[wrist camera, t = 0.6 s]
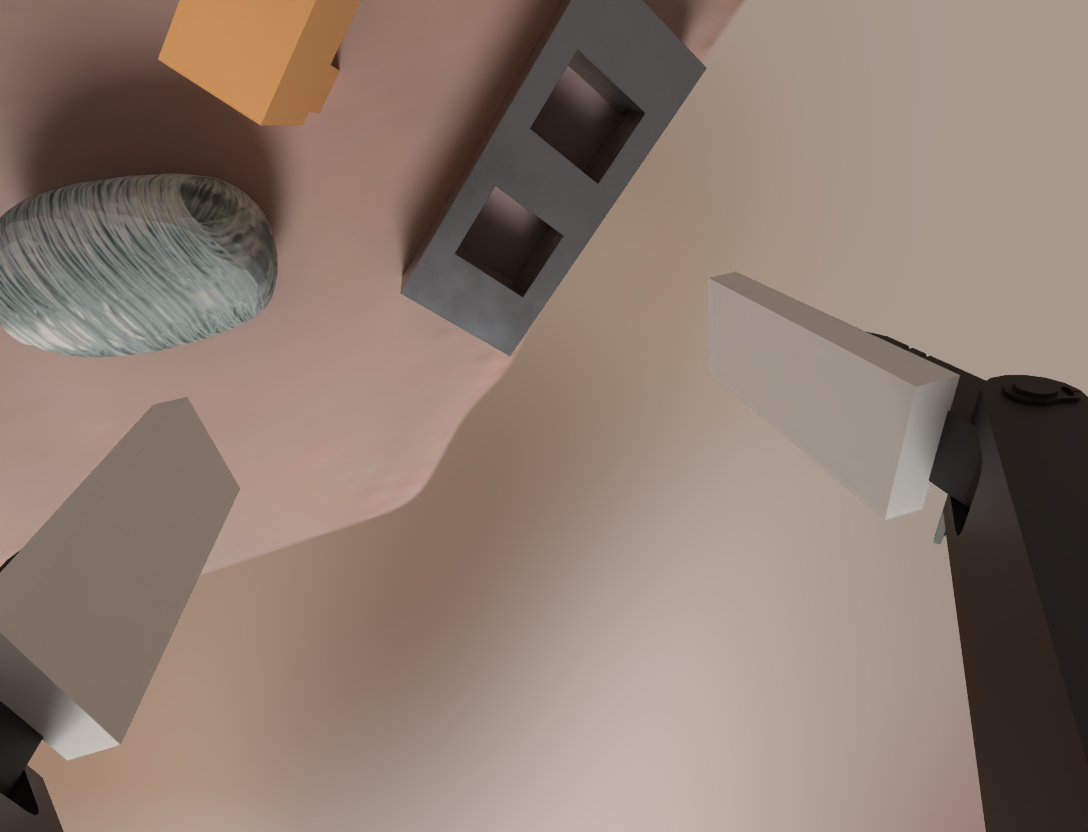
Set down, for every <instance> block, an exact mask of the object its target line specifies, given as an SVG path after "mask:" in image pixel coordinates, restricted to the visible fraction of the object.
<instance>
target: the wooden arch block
mask: <svg viewBox="0 0 1088 832" xmlns="http://www.w3.org/2000/svg"><path fill="white" fill-rule="evenodd" d="M360 1H361V0H180V1H179V3H178V6H177V9H176V12H175V14H174V17H173V20H172V22H171V25H170V28H169V31H168V33H167V36H166V39H165V41H164V44H163V47H162V50H161V52H160V55H159V58H158V60H160V61H161V62H163V63H164V64H166V65H167V66H169V67H171V68H172V69H174V70H175V71H177V72H178V73H180V74H181V75H183V76H184V77H186V78H188V79H189V80H191V81H192V82H194V83H195V84H197V85H198V86H200V87H202V88H203V89H205V90H206V91H208V92H209V93H211V94H212V95H214V96H216V97H217V98H219V99H220V100H222V101H223V102H225V103H226V104H228V105H229V106H231V107H233V108H234V109H236V110H237V111H239V112H240V113H242V114H243V115H245V116H247V117H248V118H250V119H251V120H253V121H254V122H256V123H257V124H259V125H261V126H279V125H303V123H304V121H305V119H306V116H307V114H308V112H314V113H320V111H321V109H322V107H323V105H324V102H325V100H326V98H327V96H328V94H329V92H330V90H331V88H332V86H333V83H334V81H335V79H336V77H337V75H338V73H339V70H337V69H336V68H335V67H333V66H332V65H331V63H332V61H333V59H334V57H335V54H336V52H337V50H338V48H339V46H340V44H341V42H342V39H343V37H344V35H345V33H346V31H347V29H348V27H349V24H350V22H351V20H352V18H353V16H354V14H355V12H356V9H357V7H358V5H359V3H360Z"/></svg>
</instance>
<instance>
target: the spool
mask: <svg viewBox="0 0 1088 832" xmlns="http://www.w3.org/2000/svg"><path fill="white" fill-rule="evenodd" d="M276 278H277V252H276V247H275V242H274V237H273V232H272V229H271V227H270V225H269V222H268V220H267V218H266V216H265V214H264V213H263V212H262V210H261V209H260V208H259V206H258V205H257V204H256V203H255V202H254V201H253V200H252V199H251V198H250V197H249V196H248V195H247V194H246V193H245V192H243V191H242V190H240V189H239V188H237V187H236V186H234V185H232V184H229V183H227V182H225V181H223V180H221V179H218V178H215V177H207V176H198V175H189V174H177V173H168V174H154V175H133V176H124V177H116V178H110V179H103V180H96V181H88V182H80V183H76V184H72V185H68V186H65V187H61V188H58V189H53V190H49V191H46V192H44V193H41V194H38V195H35V196H33V197H30V198H27V199H25V200H23V201H21V202H20V203H18V204H17V205H15V206H14V207H13V208H11V209H10V210H8V211H7V212H6V213H5V214H4V215H3V216H2V217H1V218H0V325H1V326H2V327H3V329H4V330H5V331H6V332H7V333H8V334H10V335H11V336H12V337H13V338H15V339H16V340H18V341H20V342H21V343H23V344H27V345H32V346H34V347H36V348H38V349H39V350H45V351H50V352H54V353H59V354H66V355H73V356H80V357H111V356H127V355H134V354H141V353H148V352H154V351H160V350H165V349H169V348H173V347H177V346H181V345H185V344H189V343H192V342H196V341H199V340H202V339H205V338H208V337H211V336H214V335H217V334H219V333H222V332H225V331H228V330H230V329H232V328H235V327H237V326H239V325H242V324H245V323H247V322H249V321H250V320H252V319H253V318H254V317H256V316H257V315H258V314H259V313H260V312H261V311H262V310H263V309H264V308H265V307H266V306H267V304H268V303H269V301H270V300H271V297H272V294H273V292H274V288H275V283H276Z"/></svg>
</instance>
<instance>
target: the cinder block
mask: <svg viewBox="0 0 1088 832" xmlns="http://www.w3.org/2000/svg"><path fill="white" fill-rule="evenodd" d="M568 65H569V66H570V67H571V68H572V69H573V70H574V71H575V72H576V73H577V74H579V75H580V76H581V77H582V78H583V79H584V80H585V81H586V82H587V83H588V84H589V85H591V86H592V87H593V88H594V89H595V90H596V91H597V92H598V93H599V94H600V95H601V96H603V97H604V98H605V99H606V100H607V101H608V102H609V103H610V104H611V105H612V106H613V107H615V108H616V109H617V110H618V111H619V112H620V113H621V114H622V115H621V117H620V118H619V120H618V121H617V123H616V124H615V126H614V127H613V129H612V130H611V132H610V134H609V135H608V137H607V138H606V140H605V141H604V143H603V144H602V146H601V147H600V149H599V150H598V152H597V153H596V155H595V157H594V158H593V160H592V161H591V163H590V164H589V166H588V167H587V169H586V170H585V172H582V171H581V170H580V169H579V168H577V167H576V166H575V165H574V164H573V163H571V162H570V161H569V160H568V159H566V158H565V157H564V156H563V155H562V154H560V153H559V152H558V151H557V150H555V149H554V148H553V147H552V146H551V145H549V144H548V143H547V142H546V141H544V140H543V139H542V138H541V137H539V136H538V135H537V134H536V133H535V132H533V131H532V130H531V129H530V127H531V126H532V124H533V122H534V121H535V119H536V118H537V116H538V114H539V113H540V111H541V109H542V108H543V106H544V104H545V103H546V101H547V99H548V98H549V96H550V94H551V93H552V91H553V89H554V88H555V86H556V84H557V83H558V81H559V79H560V78H561V76H562V74H563V73H564V71H565V69H566V68H567V66H568ZM705 70H706V67H705V66H704V65H703V64H702V63H701V62H700V61H699V59H698V58H697V57H696V56H695V55H694V54H693V53H692V52H691V51H690V50H689V49H688V48H687V47H686V46H685V45H684V43H683V42H682V41H681V40H680V39H679V38H678V37H677V36H676V35H675V34H674V33H673V32H672V31H671V30H670V29H669V27H668V26H667V25H666V24H665V23H664V22H663V21H662V20H661V19H660V18H659V17H658V16H657V15H656V14H655V13H654V12H653V10H652V9H651V8H650V7H649V6H648V5H647V4H646V3H645V2H644V1H643V0H562V1H561V3H560V4H559V6H558V8H557V10H556V11H555V13H554V15H553V17H552V18H551V20H550V22H549V24H548V25H547V27H546V29H545V30H544V32H543V34H542V36H541V37H540V39H539V41H538V43H537V44H536V46H535V48H534V50H533V51H532V53H531V55H530V56H529V58H528V60H527V62H526V63H525V65H524V67H523V69H522V70H521V72H520V74H519V75H518V77H517V79H516V81H515V82H514V84H513V86H512V88H511V89H510V91H509V93H508V95H507V96H506V98H505V100H504V101H503V103H502V105H501V107H500V108H499V110H498V112H497V114H496V115H495V117H494V119H493V120H492V122H491V124H490V126H489V127H488V129H487V131H486V133H485V134H484V136H483V138H482V140H481V141H480V143H479V145H478V146H477V148H476V150H475V152H474V153H473V155H472V157H471V159H470V160H469V162H468V164H467V165H466V167H465V169H464V171H463V172H462V174H461V176H460V178H459V179H458V181H457V183H456V185H455V186H454V188H453V190H452V191H451V193H450V195H449V197H448V198H447V200H446V202H445V204H444V205H443V207H442V209H441V210H440V212H439V214H438V216H437V217H436V219H435V221H434V223H433V224H432V226H431V228H430V230H429V231H428V233H427V235H426V236H425V238H424V240H423V242H422V243H421V245H420V247H419V249H418V250H417V252H416V254H415V256H414V257H413V259H412V261H411V262H410V264H409V266H408V268H407V269H406V271H405V273H404V275H403V276H402V284H401V294H403V295H404V296H406V297H408V298H410V299H411V300H413V301H415V302H417V303H418V304H420V305H422V306H424V307H425V308H427V309H429V310H431V311H432V312H434V313H436V314H438V315H439V316H441V317H443V318H444V319H446V320H448V321H450V322H451V323H453V324H455V325H457V326H458V327H460V328H462V329H464V330H465V331H467V332H469V333H471V334H472V335H474V336H476V337H477V338H479V339H481V340H483V341H484V342H486V343H488V344H490V345H491V346H493V347H495V348H497V349H498V350H500V351H502V352H504V353H505V354H507V355H509V356H511V354H512V353H513V351H514V350H515V348H516V347H517V345H518V344H519V342H520V341H521V340H522V338H523V337H524V335H525V334H526V332H527V331H528V329H529V328H530V326H531V325H532V323H533V322H534V320H535V319H536V318H537V316H538V315H539V313H540V312H541V310H542V309H543V307H544V306H545V304H546V303H547V301H548V300H549V298H550V297H551V296H552V294H553V293H554V291H555V290H556V288H557V287H558V285H559V284H560V282H561V281H562V279H563V278H564V276H565V275H566V274H567V272H568V271H569V269H570V268H571V266H572V265H573V263H574V262H575V260H576V259H577V257H578V256H579V254H580V253H581V252H582V250H583V249H584V247H585V246H586V244H587V243H588V241H589V240H590V238H591V237H592V235H593V234H594V233H595V231H596V230H597V228H598V227H599V225H600V224H601V222H602V221H603V219H604V218H605V216H606V215H607V213H608V212H609V211H610V209H611V208H612V206H613V205H614V203H615V202H616V200H617V199H618V197H619V196H620V194H621V193H622V191H623V190H624V188H625V187H626V186H627V184H628V183H629V181H630V180H631V178H632V177H633V175H634V174H635V172H636V171H637V169H638V168H639V167H640V165H641V164H642V162H643V161H644V159H645V158H646V156H647V155H648V153H649V152H650V150H651V149H652V147H653V146H654V144H655V143H656V142H657V140H658V139H659V137H660V136H661V134H662V133H663V131H664V130H665V128H666V127H667V126H668V124H669V122H670V121H671V120H672V118H673V117H674V115H675V114H676V112H677V111H678V109H679V108H680V106H681V105H682V104H683V102H684V101H685V99H686V98H687V96H688V95H689V93H690V92H691V90H692V89H693V87H694V86H695V84H696V83H697V82H698V80H699V78H700V77H701V76H702V74H703V73H704V71H705ZM495 186H497V187H498V188H499V189H501V190H502V191H503V192H505V193H506V194H507V195H509V196H510V197H512V198H513V199H514V200H516V201H517V202H518V203H520V204H521V205H522V206H524V207H525V208H527V209H528V210H529V211H531V212H532V213H533V214H535V215H536V216H538V217H539V218H540V219H542V220H543V221H544V222H546V223H547V224H548V225H550V226H549V227H548V229H547V230H546V232H545V233H544V235H543V236H542V238H541V239H540V241H539V243H538V244H537V246H536V247H535V249H534V250H533V252H532V253H531V255H530V256H529V258H528V259H527V261H526V262H525V264H524V266H523V267H522V269H521V270H520V272H519V273H518V275H517V276H516V278H515V279H514V281H511V280H510V279H508V278H507V277H505V276H504V275H502V274H501V273H499V272H498V271H496V270H495V269H493V268H492V267H490V266H488V265H487V264H485V263H484V262H482V261H481V260H479V259H478V258H476V257H475V256H473V255H472V254H470V253H468V252H467V251H465V250H464V249H462V248H461V247H459V245H460V244H461V242H462V240H463V239H464V237H465V235H466V234H467V232H468V230H469V229H470V227H471V225H472V224H473V222H474V220H475V219H476V217H477V215H478V214H479V212H480V210H481V209H482V207H483V205H484V204H485V202H486V201H487V199H488V197H489V196H490V194H491V192H492V191H493V189H494V187H495Z"/></svg>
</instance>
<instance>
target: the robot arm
mask: <svg viewBox="0 0 1088 832" xmlns="http://www.w3.org/2000/svg"><path fill="white" fill-rule="evenodd" d="M708 304H709V307H708V320H709V321H708V372H709V373H710V374H711V375H713V376H714V377H715V378H716V379H717V380H719V381H720V382H721V383H722V384H723V385H724V386H726V387H727V388H728V389H729V390H730V391H732V392H733V393H734V394H735V395H736V396H738V397H739V398H740V399H741V400H742V401H744V402H745V403H746V404H747V405H748V406H749V407H751V408H752V409H753V410H754V411H756V412H757V413H758V414H759V415H760V416H761V417H763V418H764V419H765V420H766V421H767V422H769V423H770V424H771V425H772V426H773V427H775V428H776V429H777V430H778V431H779V432H780V433H782V434H783V435H784V436H785V437H786V438H788V439H789V440H790V441H791V442H793V444H795V445H796V446H797V447H798V448H800V449H801V450H802V451H803V452H804V453H805V454H807V455H808V456H809V457H810V458H811V459H813V460H814V461H815V462H816V463H817V464H819V465H820V466H821V467H822V468H824V469H825V470H826V471H827V472H828V473H829V474H830V475H832V476H833V477H834V478H835V479H836V480H838V481H839V482H840V483H841V484H842V485H844V486H845V487H846V488H847V489H848V490H850V491H851V492H852V493H853V494H854V495H855V496H857V497H858V498H859V499H860V500H861V501H862V502H864V503H865V504H866V505H867V506H868V507H870V508H871V509H872V510H873V511H874V512H876V513H877V514H878V515H879V516H881V517H882V518H883V519H884V520H887V519H891V518H894V517H897V516H900V515H904V514H908V513H911V512H914V511H918V510H921V509H923V505H924V501H925V498H926V494H927V491H928V487H929V484H930V482H932V483H933V484H934V485H936V486H937V487H939V488H940V489H942V490H943V491H945V492H946V493H947V494H948V496H947V499H946V502H945V505H944V509H943V512H942V515H941V518H940V522H939V525H938V528H937V531H936V534H935V538H934V543H937V544H941V542H942V539H943V536H945V535H946V537H947V544H948V552H949V559H950V566H951V574H952V582H953V589H954V597H955V604H956V611H957V619H958V626H959V634H960V641H961V648H962V656H963V664H964V671H965V679H966V686H967V694H968V701H969V708H970V716H971V723H972V730H973V738H974V746H975V753H976V760H977V768H978V775H979V783H980V791H981V798H982V805H983V813H984V820H985V828H986V832H1088V397H1087V396H1086V395H1085V394H1084V393H1083V392H1082V391H1080V390H1079V389H1076V388H1074V387H1072V386H1070V385H1068V384H1066V383H1063V382H1059V381H1055V380H1052V379H1048V378H1042V377H1035V376H1028V375H1004V376H999V377H994V378H990V379H989V380H987V381H985V380H983V379H981V378H979V377H976V376H974V375H972V374H970V373H967V372H965V371H963V370H961V369H959V368H956V367H954V366H952V365H950V364H948V363H945V362H943V361H941V360H938V359H936V358H934V357H932V356H928V357H927V356H926V354H925V353H923V352H921V351H918V350H916V349H914V348H911V349H909V346H907V345H905V344H903V343H901V342H899V341H896V340H894V339H892V338H890V337H888V336H883V335H879V334H874V333H870V332H865V331H863V330H861V329H859V328H857V327H854V326H852V325H850V324H848V323H846V322H844V321H841V320H839V319H837V318H835V317H833V316H830V315H828V314H826V313H824V312H822V311H820V310H817V309H815V308H813V307H811V306H809V305H807V304H805V303H802V302H800V301H798V300H796V299H794V298H791V297H789V296H787V295H785V294H783V293H781V292H778V291H776V290H774V289H772V288H769V287H767V286H765V285H763V284H761V283H759V282H757V281H755V280H752V279H750V278H748V277H746V276H744V275H742V274H739V273H737V272H733V273H728V274H724V275H719V276H715V277H711V278H709V303H708ZM239 490H240V488H239V486H238V484H237V482H236V481H235V479H234V477H233V475H232V474H231V472H230V470H229V469H228V467H227V465H226V463H225V462H224V460H223V458H222V456H221V455H220V453H219V451H218V449H217V448H216V446H215V444H214V443H213V441H212V439H211V437H210V436H209V434H208V432H207V430H206V429H205V427H204V425H203V424H202V422H201V420H200V418H199V417H198V415H197V413H196V411H195V410H194V408H193V406H192V404H191V403H190V401H189V399H188V398H187V397H186V398H181V399H177V400H172V401H168V402H164V403H159V404H155V405H153V406H152V407H151V408H150V409H149V410H148V411H147V412H146V413H145V414H144V415H143V417H142V418H141V419H140V420H139V421H138V422H137V423H136V424H135V425H134V426H133V427H132V429H131V430H130V431H129V432H128V433H127V434H126V435H125V436H124V437H123V438H122V440H121V441H120V442H119V443H118V444H117V445H116V446H115V447H114V448H113V449H112V451H111V452H110V453H109V454H108V455H107V456H106V457H105V458H104V459H103V460H102V462H101V463H100V464H99V465H98V466H97V467H96V468H95V469H94V470H93V471H92V472H91V474H90V475H89V476H88V477H87V478H86V479H85V480H84V481H83V482H82V483H81V485H80V486H79V487H78V488H77V489H76V490H75V491H74V492H73V493H72V494H71V496H70V497H69V498H68V499H67V500H66V501H65V502H64V503H63V504H62V505H61V507H60V508H59V509H58V510H57V511H56V512H55V513H54V514H53V515H52V516H51V518H50V519H49V520H48V521H47V522H46V523H45V524H44V525H43V526H42V527H41V528H40V530H39V531H38V532H37V533H36V534H35V535H34V536H33V537H32V538H31V539H30V541H29V542H28V543H27V544H26V545H25V546H24V547H23V548H22V549H21V550H20V551H18V552H17V553H16V554H14V555H13V556H12V557H11V558H9V559H8V560H7V561H6V562H5V563H4V564H3V565H2V566H1V567H0V832H63V829H62V826H61V824H60V821H59V819H58V816H57V814H56V811H55V809H54V806H53V804H52V801H51V798H50V796H49V793H48V791H47V788H46V786H45V783H44V780H43V778H42V777H41V776H40V775H38V774H37V773H36V772H35V771H34V770H33V769H31V768H30V767H29V766H27V764H28V762H29V760H30V759H31V757H32V755H33V754H34V752H35V750H36V748H37V747H38V745H39V743H40V742H41V740H44V741H45V742H46V743H47V744H48V745H50V746H51V747H52V748H53V749H55V750H56V751H57V752H58V753H59V754H60V755H62V756H63V757H64V758H65V759H66V760H70V759H74V758H77V757H81V756H84V755H87V754H91V753H94V752H98V751H101V750H105V749H108V748H111V747H115V746H118V745H121V743H122V740H123V738H124V736H125V734H126V732H127V730H128V727H129V726H130V723H131V721H132V719H133V717H134V714H135V713H136V710H137V708H138V706H139V704H140V702H141V700H142V698H143V695H144V693H145V691H146V689H147V687H148V685H149V683H150V680H151V678H152V676H153V674H154V672H155V670H156V667H157V665H158V663H159V661H160V659H161V657H162V654H163V653H164V650H165V648H166V646H167V644H168V642H169V640H170V638H171V635H172V633H173V631H174V629H175V627H176V625H177V623H178V620H179V618H180V616H181V614H182V612H183V610H184V608H185V605H186V603H187V601H188V599H189V597H190V595H191V593H192V590H193V588H194V586H195V584H196V582H197V580H198V578H199V575H200V573H201V571H202V569H203V567H204V565H205V562H206V560H207V558H208V556H209V554H210V552H211V550H212V547H213V545H214V543H215V541H216V539H217V537H218V535H219V532H220V530H221V528H222V526H223V524H224V522H225V520H226V517H227V515H228V513H229V511H230V509H231V507H232V505H233V502H234V500H235V498H236V496H237V494H238V492H239Z"/></svg>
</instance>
